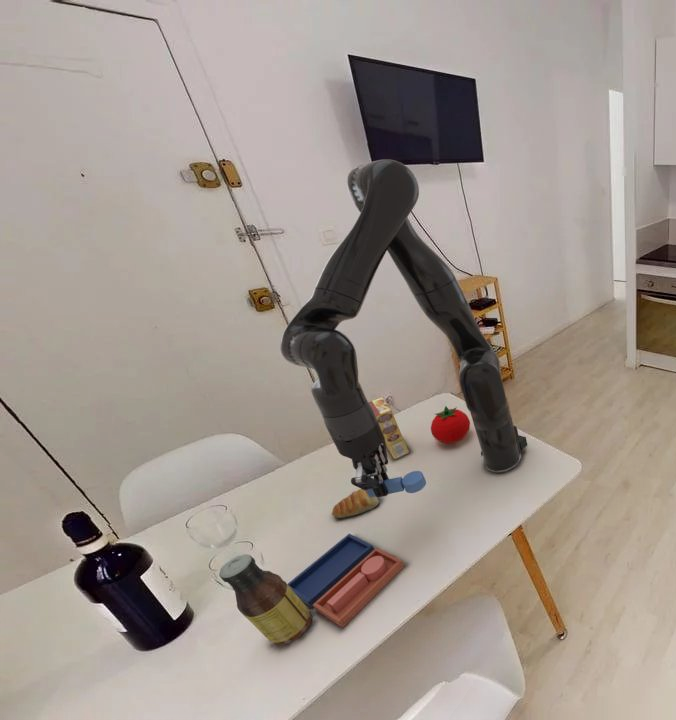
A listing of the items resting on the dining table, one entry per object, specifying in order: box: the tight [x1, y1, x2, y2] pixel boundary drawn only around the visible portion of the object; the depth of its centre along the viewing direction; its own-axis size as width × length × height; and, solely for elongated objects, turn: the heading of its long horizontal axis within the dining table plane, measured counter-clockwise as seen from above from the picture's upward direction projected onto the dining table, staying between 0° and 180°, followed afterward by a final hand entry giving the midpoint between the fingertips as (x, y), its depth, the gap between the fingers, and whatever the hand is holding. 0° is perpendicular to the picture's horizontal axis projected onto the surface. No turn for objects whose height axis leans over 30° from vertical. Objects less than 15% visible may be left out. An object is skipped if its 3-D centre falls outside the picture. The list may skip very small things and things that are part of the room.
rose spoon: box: [327, 556, 387, 613], centre depth 80 cm, size 11×4×3 cm, turn 156°
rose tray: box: [313, 547, 405, 629], centre depth 81 cm, size 13×8×2 cm, turn 156°
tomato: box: [430, 405, 471, 444], centre depth 118 cm, size 10×10×10 cm
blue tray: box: [287, 533, 375, 609], centre depth 84 cm, size 13×8×2 cm, turn 156°
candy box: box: [368, 397, 410, 460], centre depth 113 cm, size 9×4×15 cm, turn 44°
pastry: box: [331, 488, 379, 519], centre depth 98 cm, size 9×7×4 cm
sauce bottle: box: [218, 553, 313, 646], centre depth 70 cm, size 6×6×20 cm
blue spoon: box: [366, 470, 427, 498], centre depth 85 cm, size 11×4×3 cm, turn 105°
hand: (384, 491), depth 85 cm, fingers closed on blue spoon, 1 cm apart
